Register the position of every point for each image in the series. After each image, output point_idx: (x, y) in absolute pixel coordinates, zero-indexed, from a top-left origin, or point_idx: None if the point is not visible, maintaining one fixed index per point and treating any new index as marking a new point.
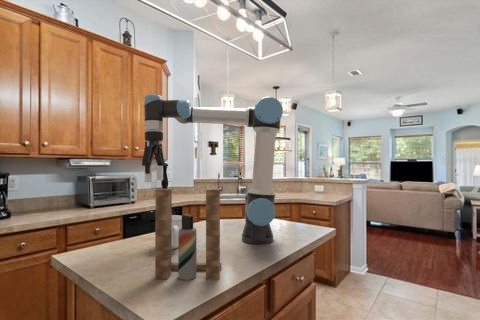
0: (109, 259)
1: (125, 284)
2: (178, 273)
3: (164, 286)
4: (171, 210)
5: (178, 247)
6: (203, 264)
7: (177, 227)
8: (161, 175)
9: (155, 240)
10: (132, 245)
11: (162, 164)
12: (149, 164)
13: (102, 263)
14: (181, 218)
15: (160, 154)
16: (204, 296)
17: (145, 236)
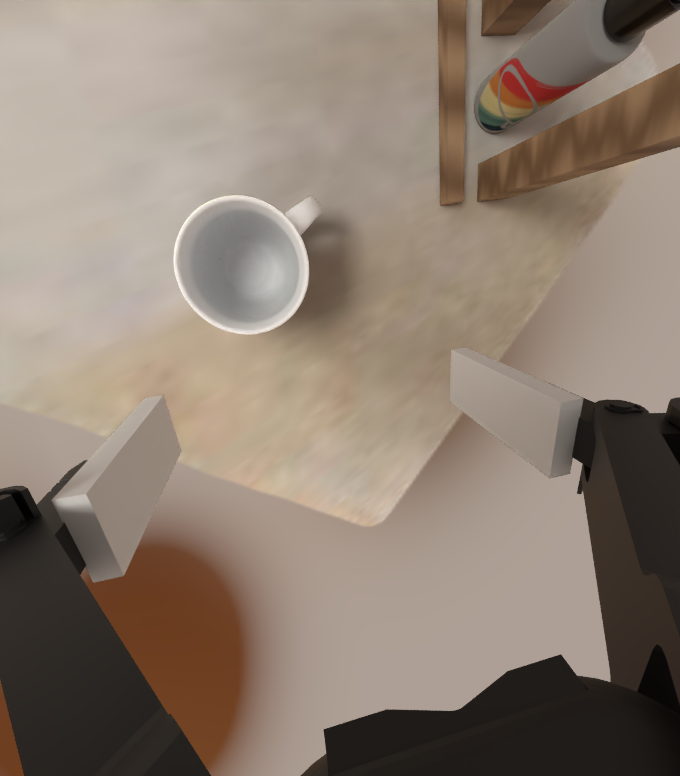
0: (387, 394)
1: (528, 259)
2: (509, 127)
3: None
4: (665, 71)
5: (567, 93)
6: (463, 48)
7: (304, 205)
8: (149, 428)
9: (589, 173)
10: (260, 410)
11: (43, 521)
12: (628, 408)
13: (414, 391)
14: (248, 196)
15: (47, 757)
16: None
17: None
